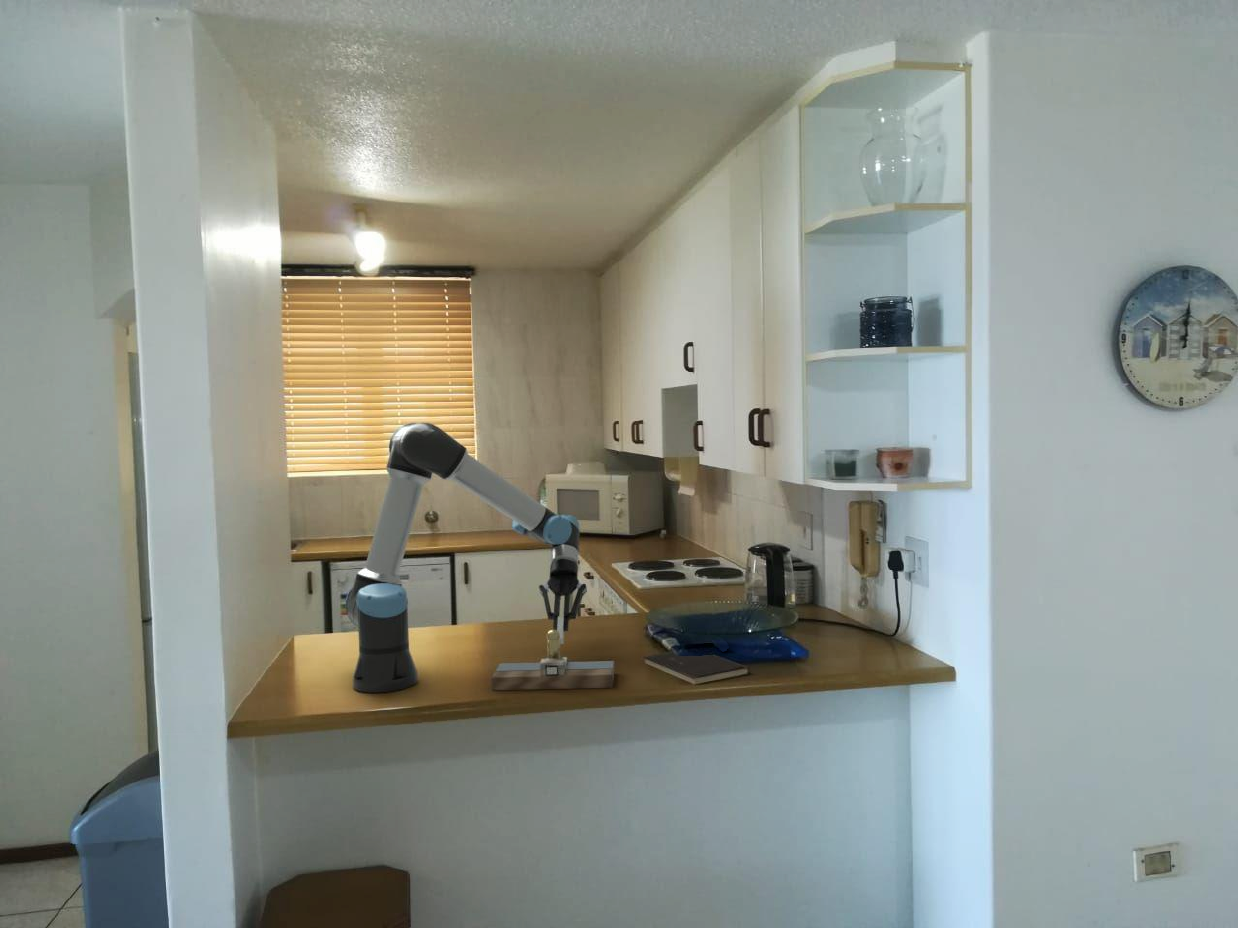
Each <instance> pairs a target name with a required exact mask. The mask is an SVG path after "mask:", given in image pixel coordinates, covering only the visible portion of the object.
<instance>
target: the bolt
mask: <svg viewBox="0 0 1238 928" xmlns="http://www.w3.org/2000/svg"><path fill="white" fill-rule="evenodd" d="M546 643H547V644H546V646H547V647H546V648H547V649H546V650H547V658H548V659H560V658H561V644H560V634H559V632H558V631H557V630H554V629H553V628H552V629H550V630H548V631H547V633H546ZM557 673H558V665H547V674H557Z"/></svg>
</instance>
